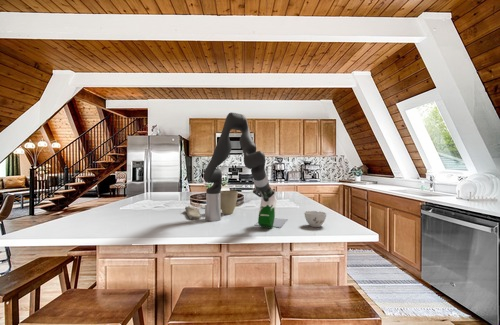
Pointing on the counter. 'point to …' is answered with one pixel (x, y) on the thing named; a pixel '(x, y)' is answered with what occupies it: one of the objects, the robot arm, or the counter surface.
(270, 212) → the milk carton
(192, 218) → the elongated rock
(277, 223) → the slate mat
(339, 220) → the counter surface
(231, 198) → the plant pot
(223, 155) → the robot arm
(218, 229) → the counter surface
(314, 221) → the teacup
